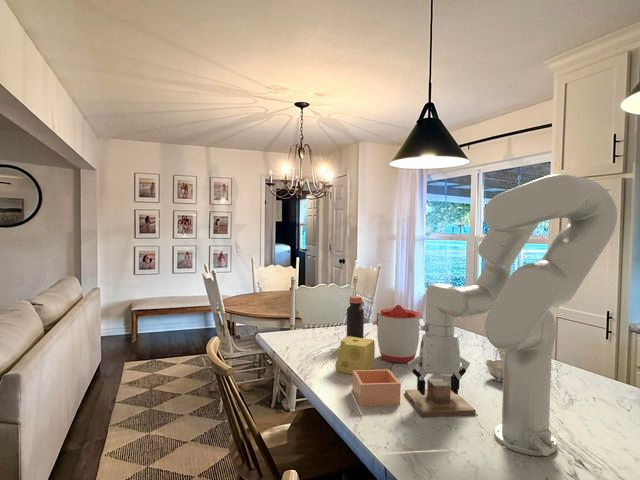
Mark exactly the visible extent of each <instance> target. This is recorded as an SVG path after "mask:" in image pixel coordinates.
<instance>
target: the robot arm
mask: <svg viewBox="0 0 640 480" xmlns="http://www.w3.org/2000/svg"><path fill="white" fill-rule="evenodd" d="M554 219H567V222H566V225H565V226H564V227H563V228H562V229H561V230H560V232H559V233H558V234H556V236H555V237H554V239H553V240H552V242H551V245H550V246H549V247H548V249H547V250H546V253H545V254H544V255H543V256H542V258H541V259H540V260H539V261H537V262H529V263H527V264H524V265H521V266H519V267H518V268H516V269H515V271H513V273H511V272H512V271H511V270H512V265H513V264H514V262H515V261H516V259H517V258H518V256H519V255H520V253H521V252H522V249H523V248H524V247H525V245H526V243H527V242H528V241H529V240H530V237H531V236H532V235H533V233H534V232H535V230H536V229H537V227H538V226H539V224H540V223H543V222H546V221H549V220H550V221H551V220H554ZM483 220H484V223H485V224H486V226H487V227H488V229H487V232H486V233H485V235H484V237H483V238H482V240H481V242H480V243H479V244H478V247H477V252H478V255H479V256H480V257H481V258H482V259H483V261H484V263H483V265H484V266H483V269H482V271H481V273H480V275H479V277H478V278H477V280H476V282H475V283H474V284H473V285H467V286H462V287H454V285H452V284H448V283H441V282H440V283H439V282H437V283H436V282H434V283H430V284H428V286H427V287H426V290H427V291H426V290H425V293H426V322H424V324H423V325H420V331H424V332H423V334H422V337H421V341H420V347H419V355H417V356H415V357H414V359H413V360H411V361H409V362H407V365H408V367H409V370H410V371H411V373H412V374H413V375H414V376H415V377H417V378H416V381H417V382H416V390H418V391H419V392H420V393H421V394H422V395H424V394H425V389H426V380H425V378H426V376H427V375H428V374H429V375H438V374H453V376H450V387H451V390H452V391H453V392H454V393H455V394H459V390H460V380H461V379H462V376H464V375H465V374H466V373H467V369H468V368H469V366H470V364H471V363H470V362H469V361H468V360H466V358H465V359H464V358H463V357H461V352H460V351H461V350H460V345H459V344H460V341H459V337H458V335H457V334H455V326H456V325H455V323H456V322H455V321H456V320H455V319H456V318H458V319H465V318H469V317H473V316H477V315H481V314H485V313H487V315H486V318H485V322H484V332H485V335H486V338H487V340H488V342H489V343H490V344H491V345H492V346H493V347H495V348H496V349H500V350H503V351H505V354H504V367H503V382H502V407H501V408H502V411H501V424H498V425H497V426H496V427H495V428H494V429H493V430H494V431H493V434H494V438H495V440H497V441H498V443H500V444H501V445H502V446H504V447H505V448H507V449H509V450H510V451H513V452H516V453H520V454H524V455H527V456H528V455H529V456H534V457H544V456H545V457H546V456H547V457H548V456H550V455H552V454H555V453H556V451H557V450H558V445H557V443H558V442H557V440H556V439H555V438H554V437H553V436H552V431H551V430H550V412H551V411H550V409H551V378H552V377H551V376H552V360H553V359H552V358H553V352H554V351H553V349H554V345H555V340H556V333H557V325H556V320H555V317H554V315H553V313H552V312H551V310H550V309H551V308H556V307H559V306H563V305H565V304H568V302H570V301H571V300H572V299H573V297H574V296H575V295H576V293H577V292H578V290H579V289H580V286H581V285H582V283H583V281H584V280H585V278H587V276H588V275H589V273H590V272H591V270H592V268H593V267H594V265H595V263H596V262H597V260H598V258H599V257H600V255H601V254H602V253H603V252H604V251H603V250H604V249H605V248H606V247H607V245H608V244H609V241H611V238H612V236H613V235H614V232H615V229H616V226H617V221H618V210H617V206H616V203H615V200H614V199H613V197H612V195H611V194H610V193H609V192H608V190H607V189H606V188H605V187H604V185H602V184H600V183H599V182H597V181H595V180H592V179H589V178H587V177H582V176H575V175H571V174H566V173H564V174H563V173H557V174H555V173H554V174H550V175H547V176H543V177H540V178H537V179H535V180H532V181H530V182H527V183H524V184H521V185H518V186H516V187H514V188H511V189H508V190H506V191H501V193H498V194H496V195H495V196H493V197H492V198H491V199H489V201H488V202H487V203H486V205H485V207H484V209H483ZM416 365H419V369H418V370H417V368H416Z"/></svg>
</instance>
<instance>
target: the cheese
mask: <svg viewBox="0 0 640 480" xmlns="http://www.w3.org/2000/svg"><path fill="white" fill-rule="evenodd" d="M375 344H376V343H375V340H374V339H372V338H371V339H370V338H364V337H363V338H356V337H351V336H348V337H347V336H345V337H344V338H343V339H341V340H340V345H339V347H338V348H337V350H336V353H335V354H336V357H337V360H335V364H334V365H335V372H337V373H344V374H349V375H353V370H373V369H374V368H375V355H376V353H375V352H376V351H375V349H376V347H375V346H376V345H375Z"/></svg>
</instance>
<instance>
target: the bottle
mask: <svg viewBox="0 0 640 480" xmlns="http://www.w3.org/2000/svg"><path fill="white" fill-rule="evenodd" d="M362 301H363V299H362V296H361V295H360V296H358V295H353V296H349V302H348V303H349V304H350V305H349V306H348V307H347V309H346V337H348V336H351V337H356V338H364V330H365V329H364V328H365V326H364V325H365V310H364V308H363V307H362V306H361V305H362Z"/></svg>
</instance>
